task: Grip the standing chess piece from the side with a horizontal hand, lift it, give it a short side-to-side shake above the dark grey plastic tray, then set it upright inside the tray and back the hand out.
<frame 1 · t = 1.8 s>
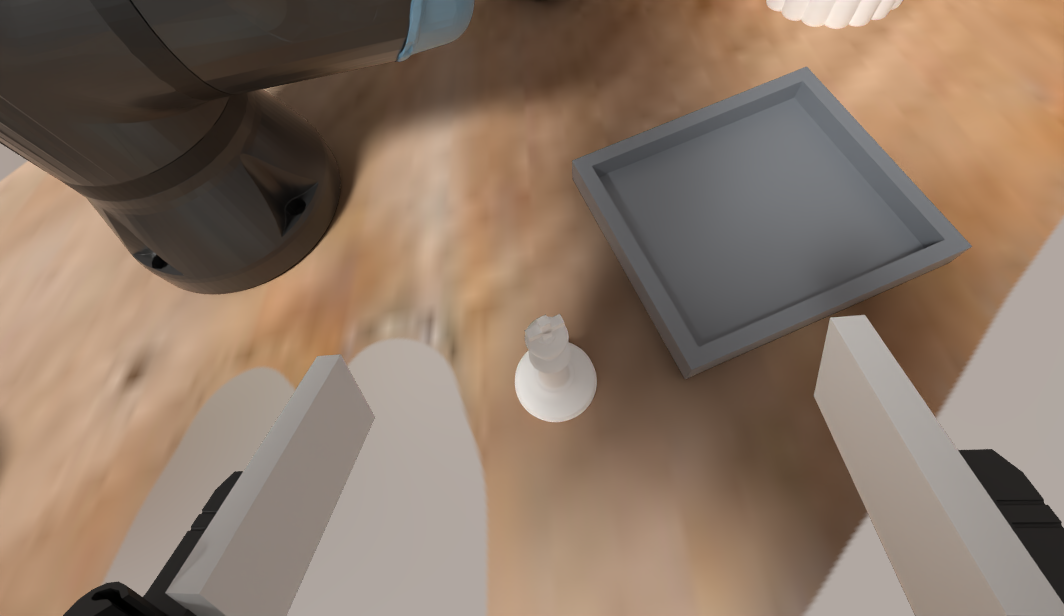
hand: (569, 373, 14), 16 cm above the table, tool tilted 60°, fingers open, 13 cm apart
chess piece: (555, 381, 30), on the table
tray: (746, 217, 33), on the table
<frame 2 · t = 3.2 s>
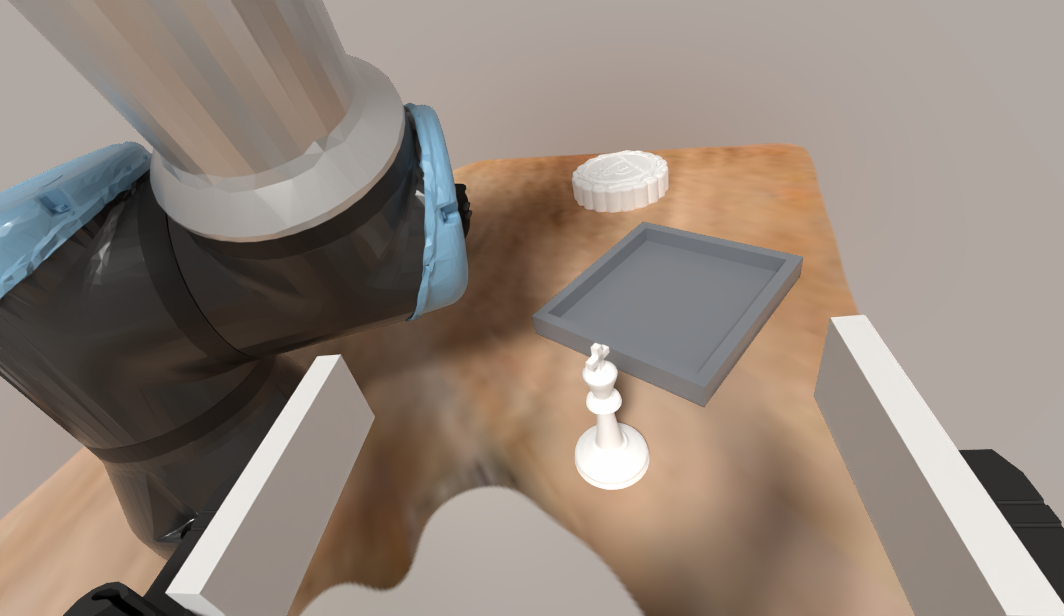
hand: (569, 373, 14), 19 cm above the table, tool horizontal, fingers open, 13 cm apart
chess piece: (612, 458, 34), on the table
mooncake: (620, 193, 65), on the table
controller: (434, 254, 61), on the table
tray: (667, 304, 45), on the table
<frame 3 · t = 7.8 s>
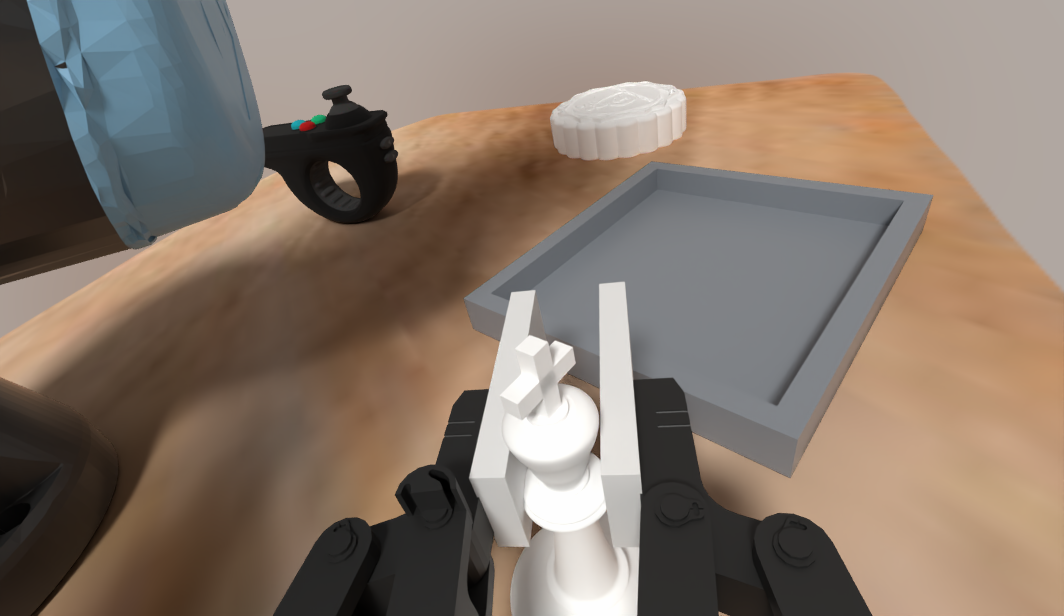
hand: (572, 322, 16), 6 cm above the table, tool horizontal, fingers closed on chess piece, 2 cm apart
chess piece: (594, 600, 15), on the table, touching gripper
mooncake: (618, 139, 47), on the table
controller: (352, 220, 42), on the table
tray: (696, 279, 26), on the table
when the fingers open (8 cm above the table, at t = 13.8 s): chess piece drops 1 cm, resting on tray.
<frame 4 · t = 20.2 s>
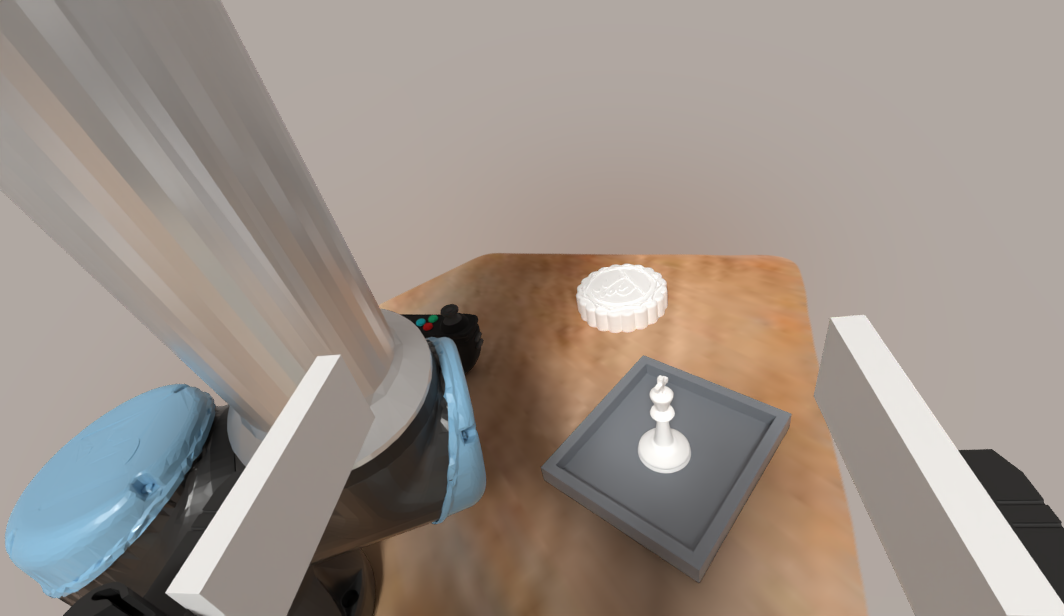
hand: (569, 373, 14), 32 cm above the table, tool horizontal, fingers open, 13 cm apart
chess piece: (664, 452, 48), resting on tray
mooncake: (622, 307, 69), on the table
controller: (447, 371, 64), on the table
tray: (666, 454, 48), on the table
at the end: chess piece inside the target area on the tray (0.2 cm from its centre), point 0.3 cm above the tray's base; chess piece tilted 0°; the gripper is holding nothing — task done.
